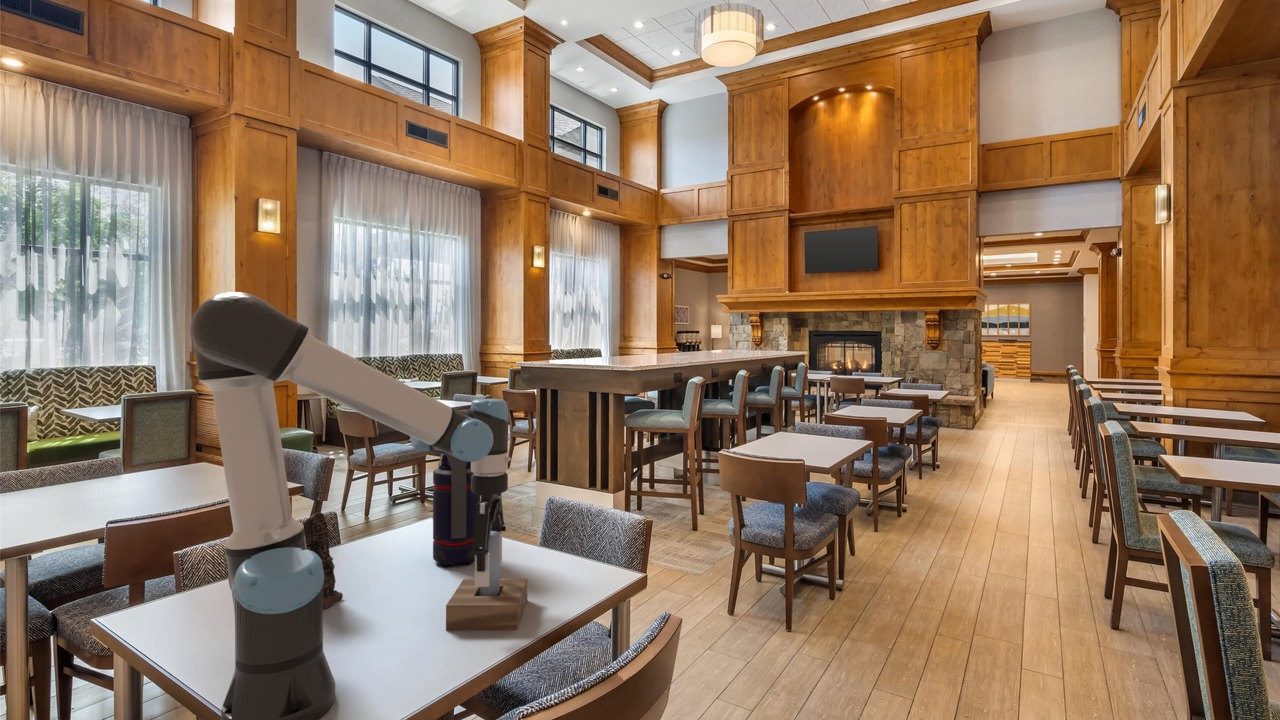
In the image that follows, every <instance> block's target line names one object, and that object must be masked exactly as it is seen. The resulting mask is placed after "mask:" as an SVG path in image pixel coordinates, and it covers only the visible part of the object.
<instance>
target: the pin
mask: <svg viewBox="0 0 1280 720" xmlns="http://www.w3.org/2000/svg"><path fill="white" fill-rule="evenodd" d="M480 548H482V547H480ZM488 553H489V587H480V596H499V595H500V578H501V573H500V572H501V569H500V568H501V567H500V565H501V563H500V533H499V532H497V531H491V534H490V541H489V548H488Z"/></svg>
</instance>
